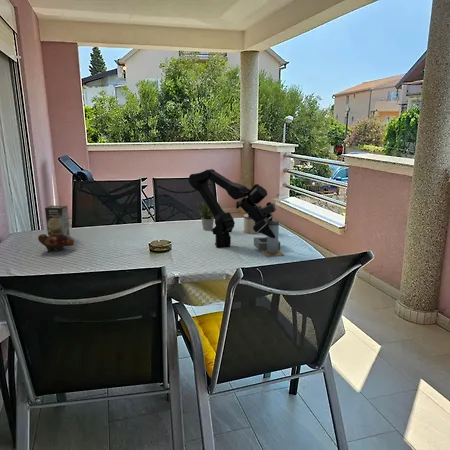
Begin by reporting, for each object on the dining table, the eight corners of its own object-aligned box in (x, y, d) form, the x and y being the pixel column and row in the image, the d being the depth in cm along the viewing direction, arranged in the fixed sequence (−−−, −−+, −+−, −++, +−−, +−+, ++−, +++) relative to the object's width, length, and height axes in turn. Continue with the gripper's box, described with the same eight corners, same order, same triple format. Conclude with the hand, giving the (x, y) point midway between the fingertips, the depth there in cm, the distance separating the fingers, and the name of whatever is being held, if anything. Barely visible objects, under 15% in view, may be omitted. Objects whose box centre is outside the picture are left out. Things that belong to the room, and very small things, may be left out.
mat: (266, 256, 170) (266, 255, 169) (261, 251, 177) (261, 250, 177) (284, 255, 171) (284, 254, 171) (278, 250, 179) (278, 249, 178)
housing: (259, 251, 178) (259, 243, 177) (253, 244, 187) (253, 237, 186) (280, 249, 179) (280, 242, 178) (273, 243, 189) (274, 236, 188)
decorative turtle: (39, 248, 182) (38, 231, 180) (74, 247, 187) (73, 230, 186) (37, 253, 173) (37, 235, 172) (74, 252, 178) (74, 234, 177)
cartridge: (268, 254, 171) (268, 223, 168) (265, 250, 176) (265, 220, 173) (279, 253, 172) (280, 222, 169) (276, 250, 177) (276, 220, 174)
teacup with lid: (261, 233, 206) (262, 212, 204) (244, 234, 206) (244, 212, 203) (257, 228, 218) (258, 207, 215) (241, 228, 217) (241, 208, 214)
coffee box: (47, 238, 198) (43, 207, 194) (54, 235, 204) (50, 205, 200) (64, 239, 197) (61, 208, 193) (70, 235, 203) (67, 205, 199)
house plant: (188, 231, 212) (187, 201, 208) (197, 225, 225) (197, 197, 221) (213, 233, 208) (213, 203, 204) (221, 227, 221) (221, 198, 217)
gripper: (261, 200, 160) (287, 228, 160) (268, 193, 178) (291, 218, 178) (242, 218, 164) (267, 245, 164) (251, 209, 182) (274, 234, 182)
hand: (276, 235), depth 172 cm, fingers open, 8 cm apart
